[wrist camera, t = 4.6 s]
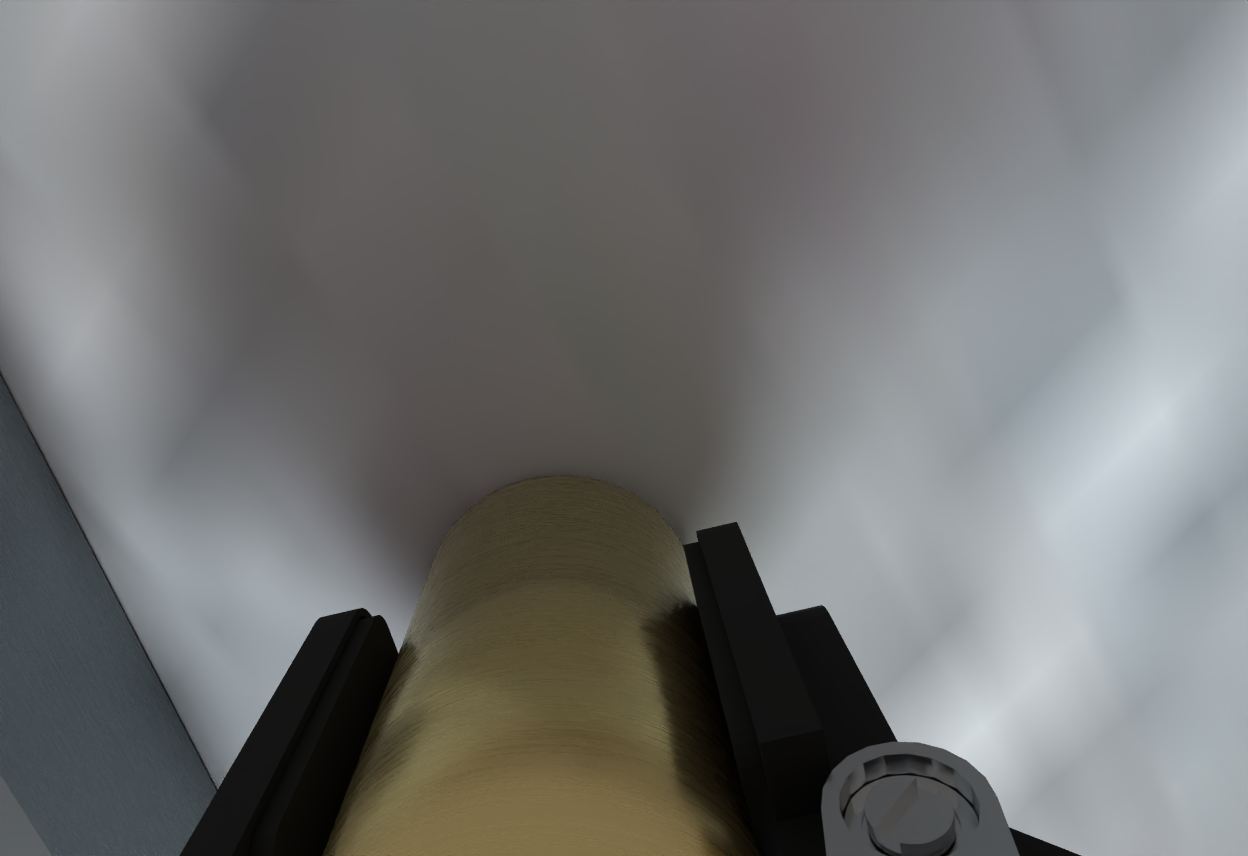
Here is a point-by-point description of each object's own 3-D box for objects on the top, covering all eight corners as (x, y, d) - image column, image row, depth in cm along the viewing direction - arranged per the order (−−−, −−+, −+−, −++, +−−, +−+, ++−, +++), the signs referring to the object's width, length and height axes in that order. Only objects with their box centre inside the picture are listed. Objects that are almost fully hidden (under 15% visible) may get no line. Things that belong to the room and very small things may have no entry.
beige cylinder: (662, 448, 11) (818, 1030, 4) (716, 676, 13) (909, 1453, 5) (393, 510, 11) (15, 1201, 4) (473, 731, 13) (307, 1571, 5)
